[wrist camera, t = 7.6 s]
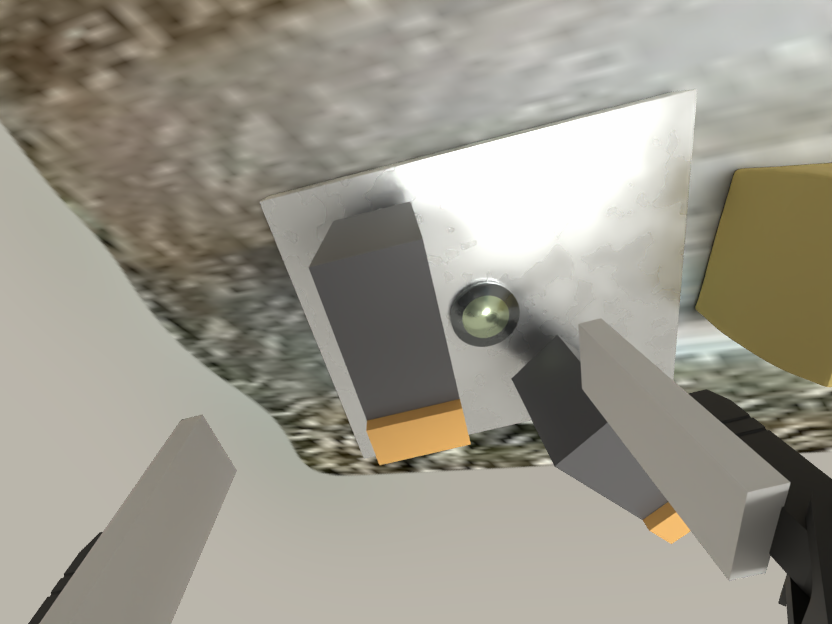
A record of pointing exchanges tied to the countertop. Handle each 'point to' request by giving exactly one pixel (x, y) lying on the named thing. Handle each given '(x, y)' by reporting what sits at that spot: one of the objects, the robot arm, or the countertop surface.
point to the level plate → (523, 244)
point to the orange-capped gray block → (589, 439)
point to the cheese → (776, 268)
